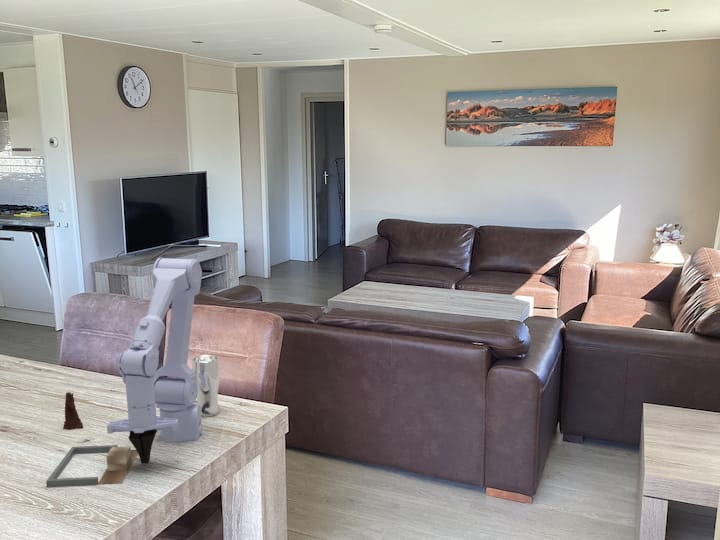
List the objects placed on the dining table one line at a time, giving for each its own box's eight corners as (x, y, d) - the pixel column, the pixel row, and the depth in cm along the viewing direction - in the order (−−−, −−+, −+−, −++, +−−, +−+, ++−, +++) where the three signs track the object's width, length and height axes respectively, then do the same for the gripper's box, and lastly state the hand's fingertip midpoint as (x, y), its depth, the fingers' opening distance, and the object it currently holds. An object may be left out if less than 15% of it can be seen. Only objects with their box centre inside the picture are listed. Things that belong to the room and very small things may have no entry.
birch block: (131, 461, 140) (130, 446, 140) (126, 470, 136) (125, 455, 136) (113, 461, 140) (111, 447, 139) (107, 471, 136) (106, 455, 135)
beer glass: (224, 407, 172) (222, 354, 169) (216, 418, 165) (213, 363, 162) (199, 406, 173) (196, 353, 170) (190, 417, 166) (187, 362, 163)
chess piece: (67, 436, 155) (63, 398, 153) (59, 430, 159) (55, 392, 157) (86, 430, 158) (82, 392, 156) (78, 424, 162) (74, 387, 160)
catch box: (118, 455, 146) (117, 444, 145) (97, 490, 131) (96, 478, 130) (73, 457, 145) (72, 446, 144) (47, 492, 130) (46, 481, 130)
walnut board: (140, 454, 146) (140, 449, 146) (122, 489, 131) (122, 483, 131) (118, 455, 146) (117, 450, 145) (97, 490, 131) (97, 484, 131)
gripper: (100, 411, 131) (105, 472, 134) (172, 409, 133) (176, 468, 135) (110, 398, 138) (115, 456, 141) (178, 396, 140) (182, 453, 142)
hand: (145, 461), depth 139 cm, fingers closed
